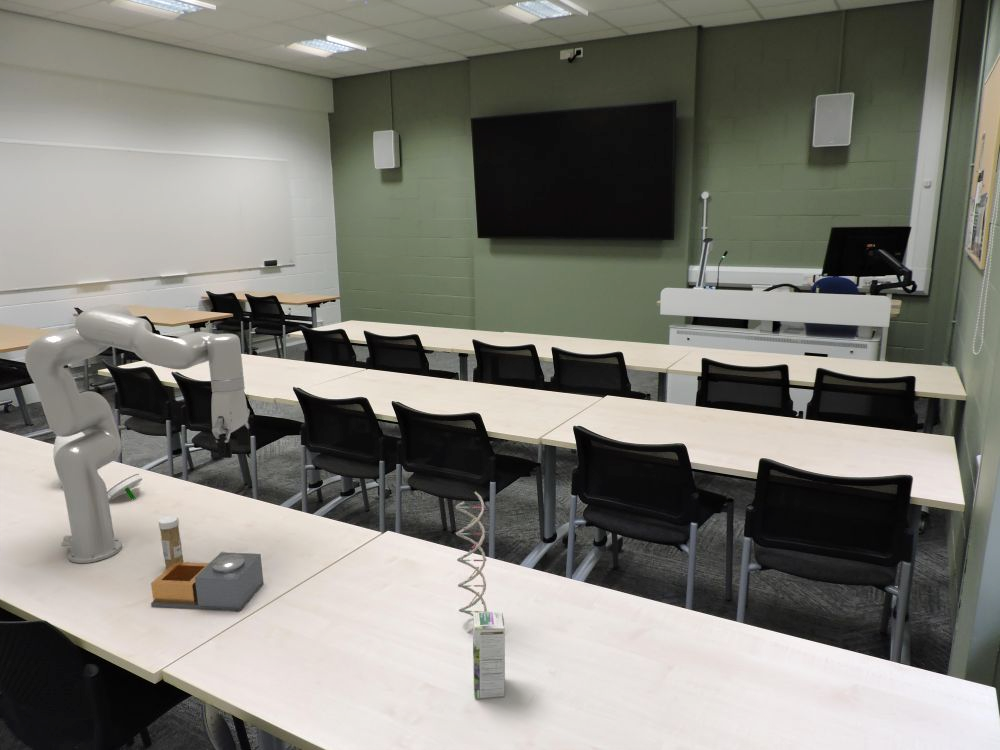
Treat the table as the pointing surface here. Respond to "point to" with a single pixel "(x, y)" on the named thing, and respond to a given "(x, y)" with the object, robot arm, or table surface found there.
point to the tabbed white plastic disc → (125, 487)
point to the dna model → (477, 546)
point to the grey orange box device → (210, 583)
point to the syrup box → (488, 654)
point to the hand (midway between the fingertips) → (234, 450)
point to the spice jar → (170, 540)
